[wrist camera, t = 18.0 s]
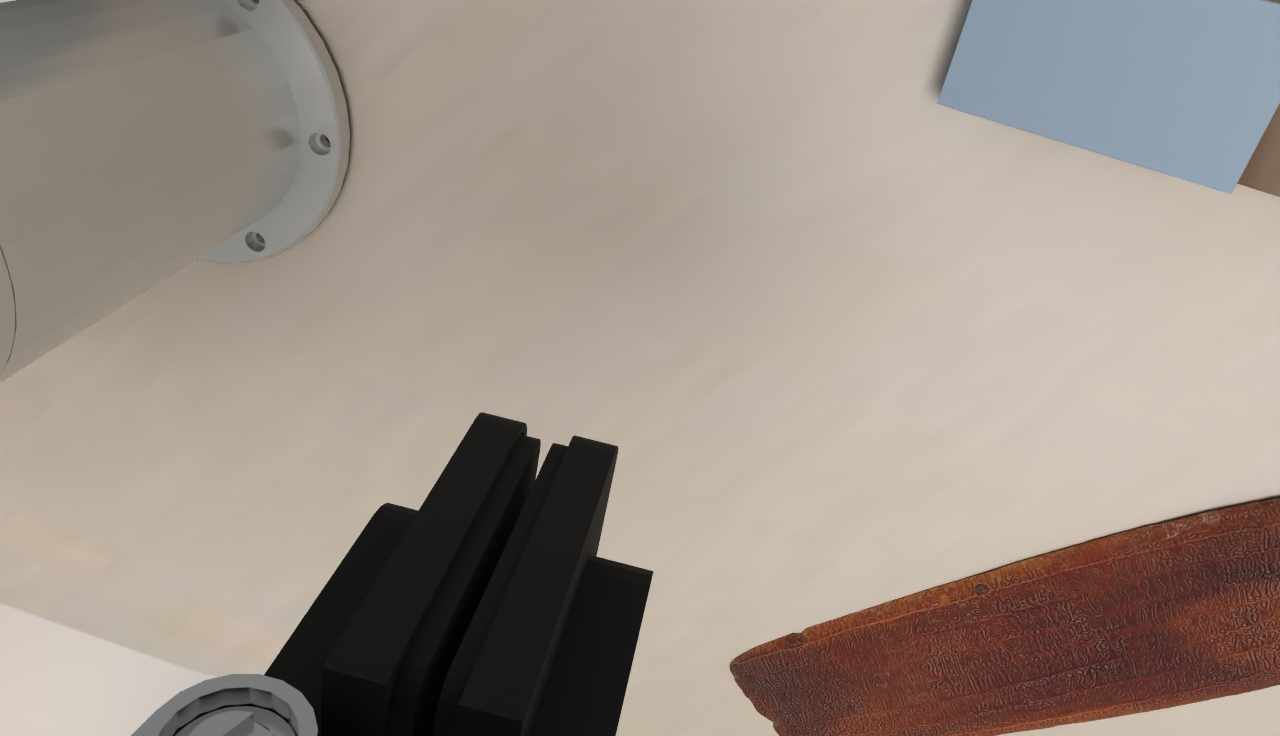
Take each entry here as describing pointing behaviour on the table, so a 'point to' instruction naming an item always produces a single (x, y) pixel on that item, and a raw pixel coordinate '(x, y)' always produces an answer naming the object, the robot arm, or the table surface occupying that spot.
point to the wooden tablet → (1043, 638)
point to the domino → (1127, 78)
